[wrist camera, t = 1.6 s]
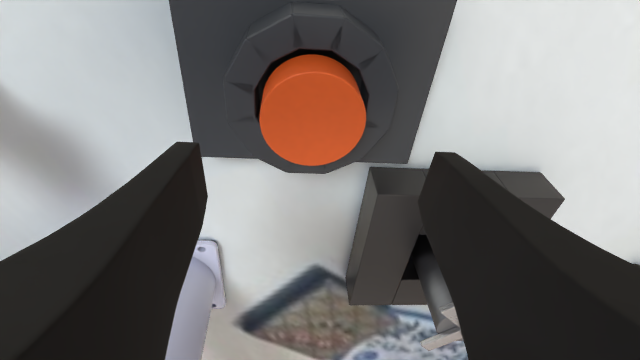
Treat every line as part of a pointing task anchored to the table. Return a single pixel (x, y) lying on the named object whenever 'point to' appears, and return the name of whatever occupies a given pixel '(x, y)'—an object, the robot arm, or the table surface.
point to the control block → (301, 39)
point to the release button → (312, 110)
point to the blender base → (412, 231)
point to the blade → (435, 296)
